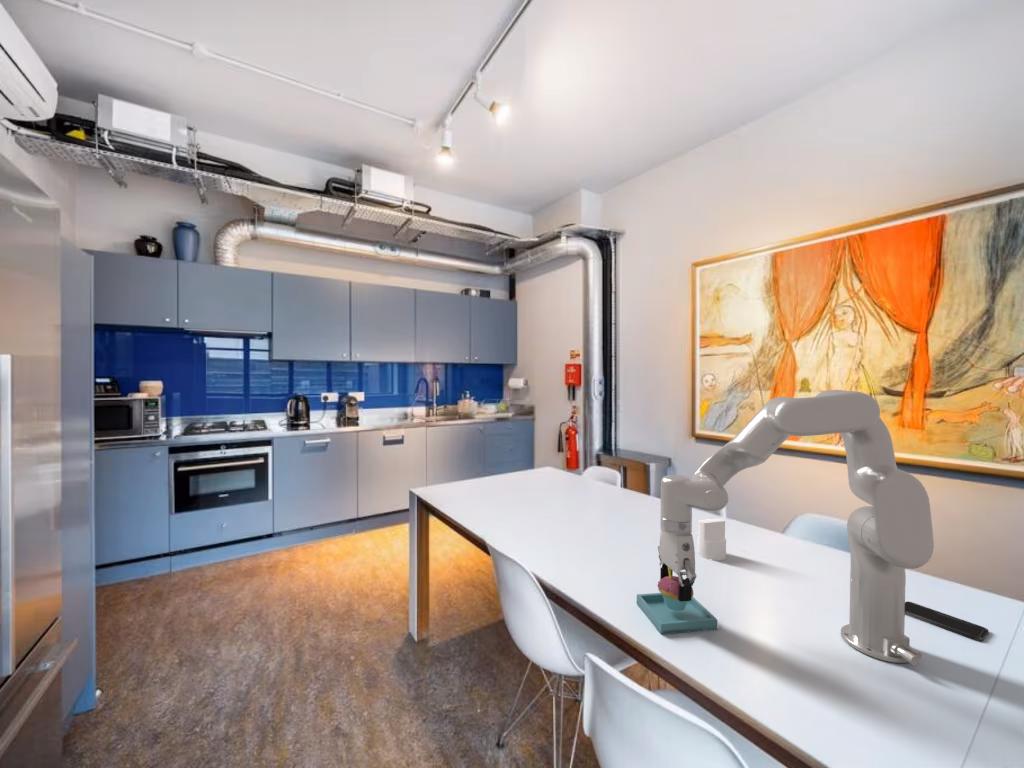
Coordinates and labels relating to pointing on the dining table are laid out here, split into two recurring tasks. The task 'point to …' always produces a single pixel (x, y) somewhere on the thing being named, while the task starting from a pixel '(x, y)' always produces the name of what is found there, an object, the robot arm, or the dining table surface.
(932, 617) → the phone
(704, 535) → the base with upright slab
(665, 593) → the cupcake
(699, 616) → the tray
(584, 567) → the dining table surface
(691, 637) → the dining table surface
